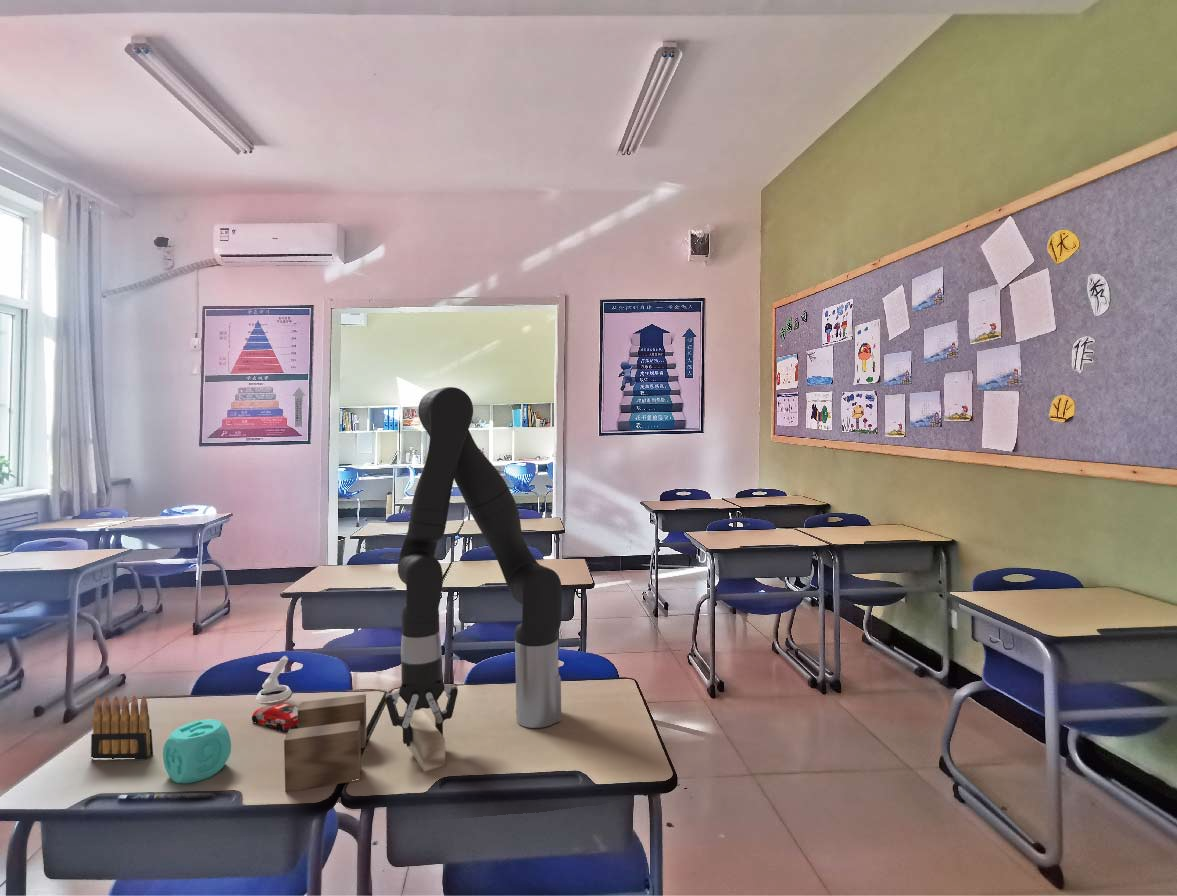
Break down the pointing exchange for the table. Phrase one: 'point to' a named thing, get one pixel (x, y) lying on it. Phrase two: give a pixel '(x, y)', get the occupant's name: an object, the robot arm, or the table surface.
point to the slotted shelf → (326, 743)
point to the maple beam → (426, 742)
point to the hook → (274, 684)
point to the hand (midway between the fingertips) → (423, 742)
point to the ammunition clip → (121, 730)
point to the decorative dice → (196, 751)
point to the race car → (277, 716)
